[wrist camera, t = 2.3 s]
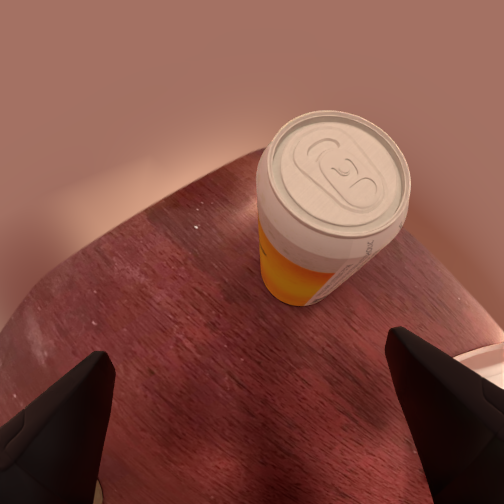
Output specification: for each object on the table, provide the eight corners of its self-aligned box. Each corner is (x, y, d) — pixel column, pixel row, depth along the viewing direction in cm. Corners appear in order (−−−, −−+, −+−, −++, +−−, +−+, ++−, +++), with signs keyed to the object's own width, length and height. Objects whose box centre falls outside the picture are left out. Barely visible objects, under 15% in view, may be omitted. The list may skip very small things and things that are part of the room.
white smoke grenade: (409, 375, 20) (408, 555, 14) (512, 366, 11) (475, 583, 6) (477, 343, 23) (474, 504, 17) (554, 326, 15) (536, 513, 9)
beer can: (304, 219, 26) (342, 85, 11) (350, 276, 24) (447, 188, 10) (245, 261, 25) (220, 149, 10) (291, 323, 23) (335, 287, 9)
